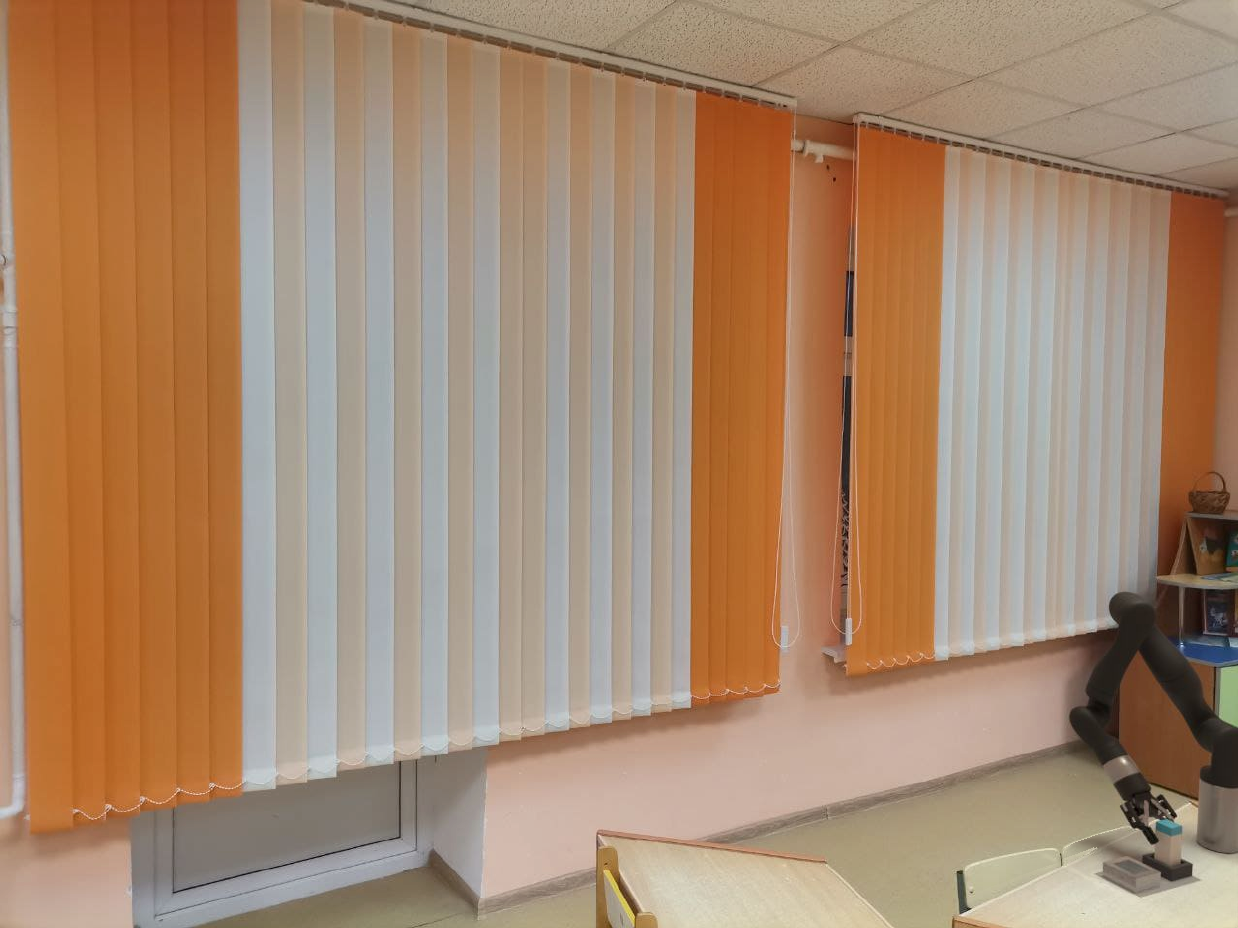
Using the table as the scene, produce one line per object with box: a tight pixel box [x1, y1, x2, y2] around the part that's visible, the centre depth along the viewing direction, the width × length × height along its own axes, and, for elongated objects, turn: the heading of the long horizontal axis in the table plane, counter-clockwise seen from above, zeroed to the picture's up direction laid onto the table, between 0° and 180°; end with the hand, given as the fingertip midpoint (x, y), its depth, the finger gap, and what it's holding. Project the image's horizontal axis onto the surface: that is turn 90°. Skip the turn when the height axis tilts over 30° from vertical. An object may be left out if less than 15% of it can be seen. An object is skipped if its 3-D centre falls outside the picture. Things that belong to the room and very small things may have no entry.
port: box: [1102, 855, 1161, 893], centre depth 213 cm, size 9×9×4 cm
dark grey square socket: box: [1141, 851, 1194, 882], centre depth 218 cm, size 8×8×3 cm
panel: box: [1094, 860, 1202, 899], centre depth 215 cm, size 22×12×1 cm, turn 114°
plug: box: [1153, 819, 1183, 867], centre depth 218 cm, size 4×4×12 cm
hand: (1167, 840), depth 218 cm, fingers open, 8 cm apart
